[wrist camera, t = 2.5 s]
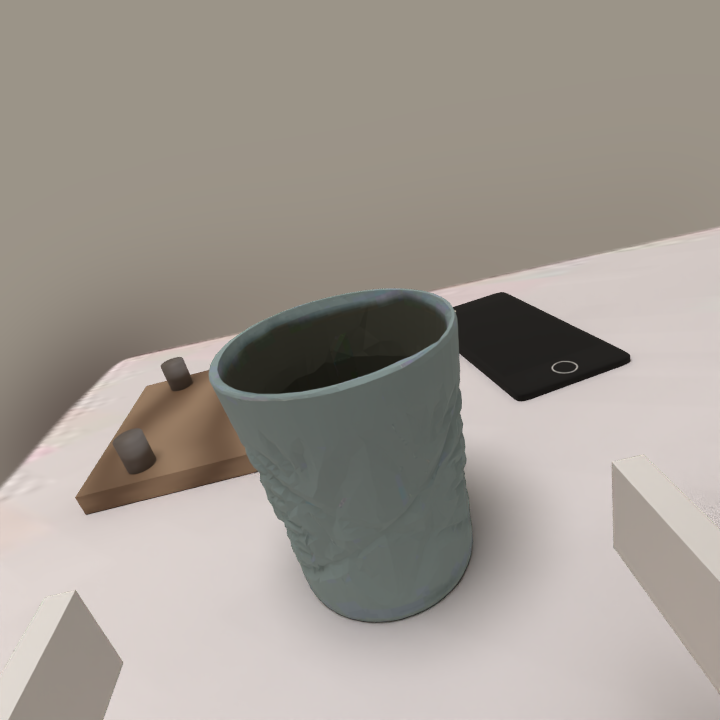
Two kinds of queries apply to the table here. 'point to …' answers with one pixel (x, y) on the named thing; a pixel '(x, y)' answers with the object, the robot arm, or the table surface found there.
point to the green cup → (358, 444)
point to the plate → (167, 444)
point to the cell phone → (529, 347)
